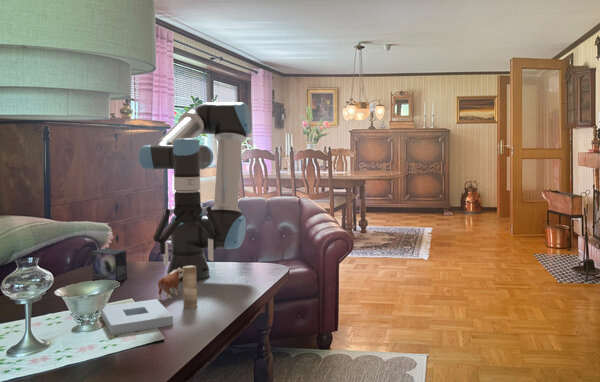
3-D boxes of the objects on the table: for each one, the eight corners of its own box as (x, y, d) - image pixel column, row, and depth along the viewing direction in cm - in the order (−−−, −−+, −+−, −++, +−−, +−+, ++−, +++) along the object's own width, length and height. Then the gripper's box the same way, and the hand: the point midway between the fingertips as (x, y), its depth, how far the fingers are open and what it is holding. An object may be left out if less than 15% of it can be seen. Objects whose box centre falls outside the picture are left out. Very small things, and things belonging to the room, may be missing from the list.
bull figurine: (188, 290, 188) (187, 266, 187) (166, 302, 175) (165, 276, 174) (176, 289, 189) (176, 265, 188) (153, 301, 177) (152, 275, 176)
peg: (182, 305, 172) (180, 266, 170) (194, 303, 173) (193, 265, 172) (185, 309, 168) (184, 269, 167) (198, 307, 170) (197, 267, 169)
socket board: (101, 315, 163) (100, 306, 163) (157, 307, 170) (156, 299, 170) (111, 334, 147) (111, 325, 147) (173, 325, 154) (172, 316, 154)
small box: (91, 280, 202) (90, 251, 201) (104, 276, 208) (103, 247, 207) (115, 283, 198) (114, 253, 197) (128, 278, 204) (126, 249, 203)
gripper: (147, 194, 158) (149, 269, 160) (231, 190, 170) (232, 260, 171) (141, 192, 165) (143, 264, 167) (223, 188, 176) (224, 256, 178)
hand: (188, 262), depth 169 cm, fingers open, 13 cm apart
